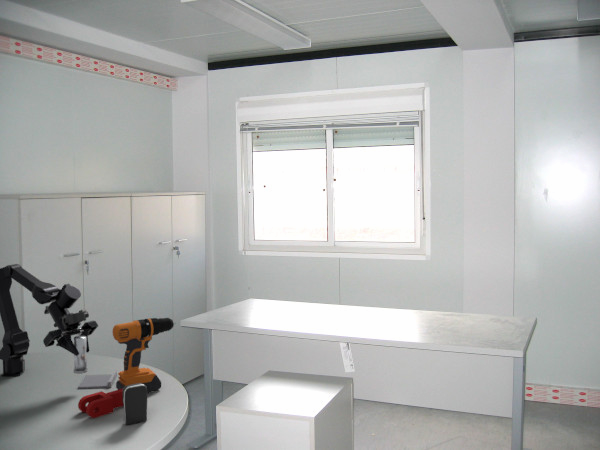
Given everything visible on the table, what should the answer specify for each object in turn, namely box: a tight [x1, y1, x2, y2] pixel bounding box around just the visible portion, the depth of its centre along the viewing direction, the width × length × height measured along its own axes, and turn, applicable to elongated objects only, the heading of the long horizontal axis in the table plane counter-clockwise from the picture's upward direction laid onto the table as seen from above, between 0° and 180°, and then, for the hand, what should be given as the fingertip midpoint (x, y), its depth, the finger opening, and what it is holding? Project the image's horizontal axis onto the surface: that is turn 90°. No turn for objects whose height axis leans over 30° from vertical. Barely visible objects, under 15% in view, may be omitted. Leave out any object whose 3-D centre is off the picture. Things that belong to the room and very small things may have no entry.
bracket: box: [77, 370, 118, 390], centre depth 211 cm, size 11×12×2 cm
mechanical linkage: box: [77, 389, 124, 419], centre depth 187 cm, size 16×7×5 cm, turn 136°
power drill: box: [112, 317, 176, 394], centre depth 203 cm, size 22×7×25 cm, turn 124°
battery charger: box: [122, 383, 148, 426], centre depth 178 cm, size 7×4×11 cm, turn 125°
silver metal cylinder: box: [73, 335, 88, 375], centre depth 202 cm, size 4×4×12 cm
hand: (83, 353), depth 201 cm, fingers closed on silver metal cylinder, 4 cm apart
